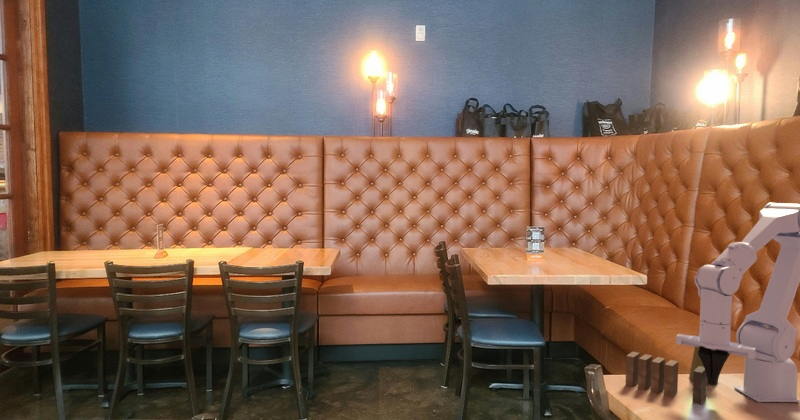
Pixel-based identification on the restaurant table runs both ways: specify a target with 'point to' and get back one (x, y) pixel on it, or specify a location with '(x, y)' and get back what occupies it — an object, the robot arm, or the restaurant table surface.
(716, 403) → the restaurant table surface
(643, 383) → the tile
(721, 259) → the robot arm
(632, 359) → the tile
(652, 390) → the tile
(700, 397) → the tile
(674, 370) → the tile
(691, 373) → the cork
